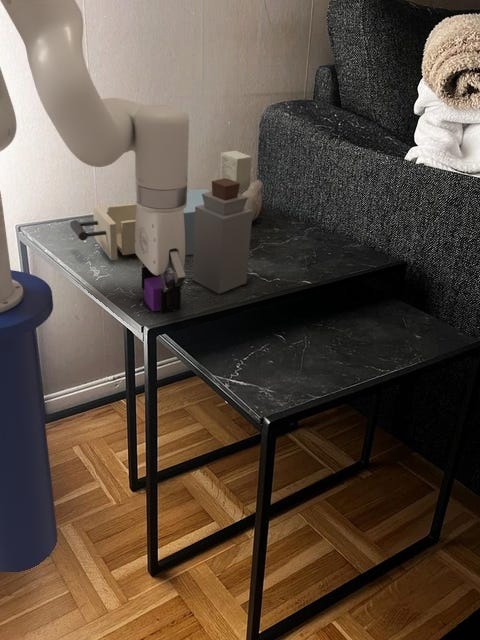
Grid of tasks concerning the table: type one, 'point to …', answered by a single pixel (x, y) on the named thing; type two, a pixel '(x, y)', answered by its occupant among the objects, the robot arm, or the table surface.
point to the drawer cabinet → (191, 217)
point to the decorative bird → (254, 198)
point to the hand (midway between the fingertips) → (160, 298)
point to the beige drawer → (111, 228)
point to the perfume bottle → (222, 237)
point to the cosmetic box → (236, 168)
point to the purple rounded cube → (153, 291)
